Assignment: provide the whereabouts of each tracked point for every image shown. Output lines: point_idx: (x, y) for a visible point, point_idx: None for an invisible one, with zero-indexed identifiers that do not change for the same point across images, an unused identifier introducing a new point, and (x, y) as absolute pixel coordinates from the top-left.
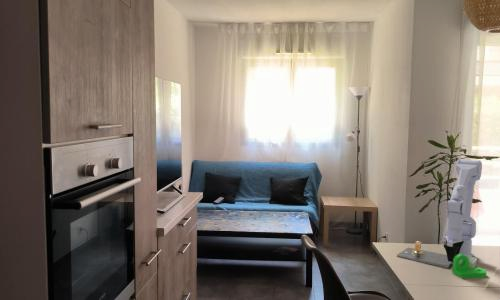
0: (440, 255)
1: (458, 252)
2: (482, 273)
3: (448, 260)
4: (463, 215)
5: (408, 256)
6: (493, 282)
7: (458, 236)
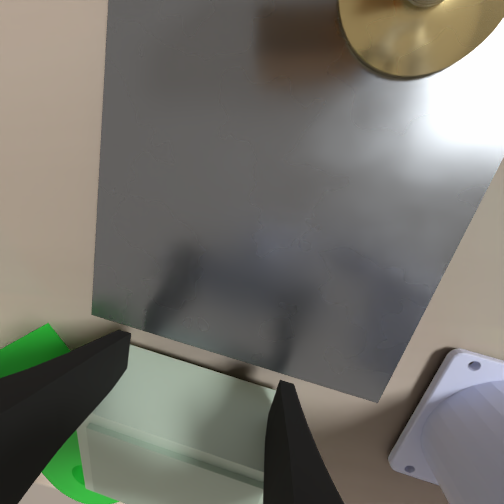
0: (370, 269)
1: (266, 476)
2: (50, 478)
3: (110, 336)
4: None
5: None
6: (37, 477)
7: None
